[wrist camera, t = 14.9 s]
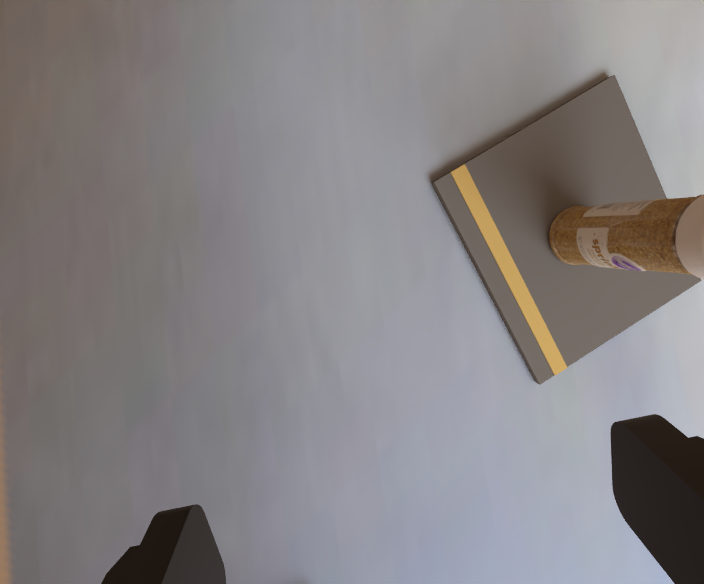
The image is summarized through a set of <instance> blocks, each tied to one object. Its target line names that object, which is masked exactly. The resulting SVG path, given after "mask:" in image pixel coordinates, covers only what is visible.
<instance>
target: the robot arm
mask: <svg viewBox="0 0 704 584" xmlns="http://www.w3.org/2000/svg"><path fill="white" fill-rule="evenodd" d="M611 456H612V484H613V492H614V496H615V500H616V503H617V505H618V508H619V510H620V512H621V514H622V516H623V518H624V519H625V521H626V522H627V524H628V525H629V526H630V528H631V529H632V530H633V531H634V533H635V534H636V535H637V536H638V538H639V539H640V540H641V541H642V543H643V544H644V545H645V547H646V548H647V549H648V550H649V552H650V553H651V554H652V555H653V557H654V558H655V559H656V561H657V562H658V563H659V564H660V566H661V567H662V568H663V569H664V571H665V572H666V573H667V574H668V576H669V577H670V578H671V580H672V581H673V582H674V583H675V584H704V439H703V438H700V437H698V436H695V437H690V438H688V437H687V436H685V435H684V434H683V433H682V432H680V431H679V430H678V429H677V428H675V427H674V426H673V425H672V424H671V423H669V422H668V421H667V420H666V419H664V418H663V417H661V416H659V415H656V414H654V415H648V416H643V417H638V418H633V419H628V420H623V421H618V422H615V423H613V425H612V427H611ZM101 584H226V576H225V568H224V564H223V561H222V558H221V556H220V553H219V550H218V548H217V545H216V542H215V540H214V537H213V534H212V532H211V529H210V526H209V524H208V521H207V518H206V516H205V513H204V511H203V509H202V507H201V506H200V505H197V504H196V505H191V506H186V507H181V508H176V509H171V510H166V511H161V512H158V513H157V514H156V515H155V516H154V517H153V519H152V521H151V523H150V525H149V527H148V529H147V532H146V534H145V536H144V538H143V540H142V542H141V544H140V545H138V546H133V547H130V548H129V549H128V550H127V551H126V552H125V554H124V555H123V556H122V557H121V558H120V559H119V560H118V561H117V563H116V564H115V565H114V566H113V567H112V568H111V569H110V570H109V572H108V573H107V574H106V576H105V578H104V580H103V581H102V583H101Z"/></svg>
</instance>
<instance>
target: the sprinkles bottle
mask: <svg viewBox="0 0 704 584" xmlns="http://www.w3.org/2000/svg"><path fill="white" fill-rule="evenodd" d="M549 237H550V240H549V241H550V245H551V249H552V251H553V253H554V254H555V255H556V257H557V258H558V259H559V260H561V261H562V262H564V263H566V264H570V265H581V264H586V265H595V266H598V267H606V268H616V269H627V270H637V271H648V270H649V271H658V272H671V273H681V274H691V275H694V276H696V277H698V278H702V279H704V195H699V196H697V197H688V198H675V199H653V200H643V201H632V202H620V203H610V204H601V205H597V206H591V207H584V206H573V207H570V208H567V209H565V210H564V211H562V212H561V213H560V214H559V215H558V216H557V217H556V218H555V219H554V221H553V222H552V224H551V228H550V232H549Z"/></svg>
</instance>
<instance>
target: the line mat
mask: <svg viewBox="0 0 704 584" xmlns="http://www.w3.org/2000/svg"><path fill="white" fill-rule="evenodd" d="M432 185H433V187H434V189H435V191H436V193H437V195H438V197H439V199H440V200H441V202H442V204H443V206H444V208H445V210H446V212H447V214H448V216H449V218H450V220H451V221H452V223H453V225H454V227H455V229H456V231H457V233H458V235H459V237H460V239H461V241H462V242H463V244H464V246H465V248H466V250H467V252H468V254H469V256H470V258H471V260H472V262H473V263H474V265H475V267H476V269H477V271H478V273H479V275H480V277H481V279H482V281H483V283H484V284H485V286H486V288H487V290H488V292H489V294H490V296H491V298H492V300H493V302H494V304H495V305H496V307H497V309H498V311H499V313H500V315H501V317H502V319H503V321H504V323H505V325H506V326H507V328H508V330H509V332H510V334H511V336H512V338H513V340H514V342H515V344H516V346H517V347H518V349H519V351H520V353H521V355H522V357H523V359H524V361H525V363H526V365H527V367H528V368H529V370H530V372H531V374H532V376H533V378H534V380H535V382H536V383H538V384H541V383H543V382H545V381H546V380H548V379H549V378H551V377H552V376H554V375H557V374H558V373H560V372H561V371H563V370H565V369H566V368H567V367H568V366H569V365H571V364H573V363H574V362H576V361H577V360H579V359H580V358H582V357H583V356H585V355H586V354H588V353H590V352H591V351H593V350H594V349H596V348H597V347H599V346H600V345H602V344H604V343H605V342H607V341H608V340H610V339H611V338H613V337H614V336H616V335H618V334H619V333H621V332H622V331H624V330H625V329H627V328H628V327H630V326H631V325H633V324H635V323H636V322H638V321H639V320H641V319H642V318H644V317H645V316H647V315H649V314H650V313H652V312H653V311H655V310H656V309H658V308H659V307H661V306H663V305H664V304H666V303H667V302H669V301H670V300H672V299H673V298H675V297H677V296H678V295H680V294H681V293H683V292H684V291H686V290H687V289H689V288H690V287H692V286H694V285H695V284H697V283H698V282H700V281H701V279H700V278H698V277H696V276H694V275H691V274H681V273H671V272H658V271H649V270H648V271H637V270H627V269H616V268H606V267H598V266H595V265H586V264H581V265H570V264H566V263H564V262H562V261H561V260H559V259H558V258H557V257H556V255H555V254H554V253H553V251H552V249H551V245H550V241H549V240H550V237H549V232H550V228H551V224H552V222H553V221H554V219H555V218H556V217H557V216H558V215H559V214H560V213H561V212H562V211H564V210H565V209H567V208H570V207H573V206H584V207H591V206H597V205H601V204H610V203H620V202H632V201H643V200H653V199H667V198H666V196H665V193H664V191H663V189H662V186H661V184H660V181H659V179H658V177H657V174H656V172H655V170H654V167H653V165H652V162H651V160H650V158H649V155H648V153H647V151H646V148H645V146H644V143H643V141H642V139H641V136H640V134H639V132H638V129H637V127H636V125H635V122H634V120H633V117H632V115H631V113H630V110H629V108H628V106H627V103H626V101H625V98H624V96H623V94H622V91H621V89H620V87H619V84H618V82H617V79H616V77H615V75H613V76H611V77H609V78H607V79H606V80H604V81H602V82H600V83H599V84H597V85H595V86H594V87H592V88H590V89H589V90H587V91H585V92H584V93H582V94H580V95H579V96H577V97H575V98H574V99H572V100H570V101H569V102H567V103H565V104H563V105H562V106H560V107H558V108H557V109H555V110H553V111H552V112H550V113H548V114H547V115H545V116H543V117H542V118H540V119H538V120H537V121H535V122H533V123H532V124H530V125H528V126H527V127H525V128H523V129H521V130H520V131H518V132H516V133H515V134H513V135H511V136H510V137H508V138H506V139H505V140H503V141H501V142H500V143H498V144H496V145H495V146H493V147H491V148H490V149H488V150H486V151H484V152H483V153H481V154H479V155H478V156H476V157H474V158H473V159H471V160H469V161H468V162H466V163H464V164H463V165H461V166H459V167H458V168H456V169H454V170H453V171H451V172H449V173H448V174H446V175H444V176H442V177H441V178H439V179H437V180H436V181H434V182H432Z"/></svg>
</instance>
